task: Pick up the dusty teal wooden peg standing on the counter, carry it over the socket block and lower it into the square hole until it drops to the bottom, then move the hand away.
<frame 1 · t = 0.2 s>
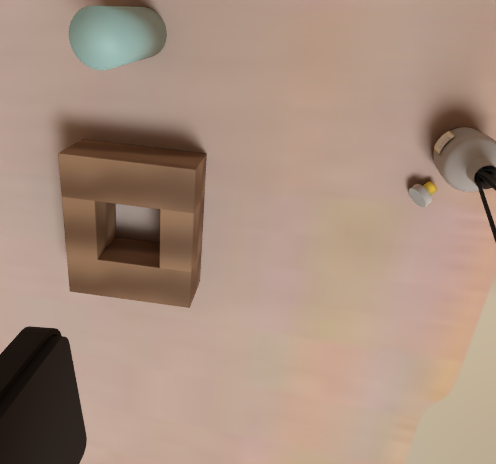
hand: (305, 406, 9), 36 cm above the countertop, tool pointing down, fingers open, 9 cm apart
reed diffuser: (460, 161, 43), on the countertop
socket block: (144, 214, 48), on the countertop
peg: (143, 32, 41), on the countertop
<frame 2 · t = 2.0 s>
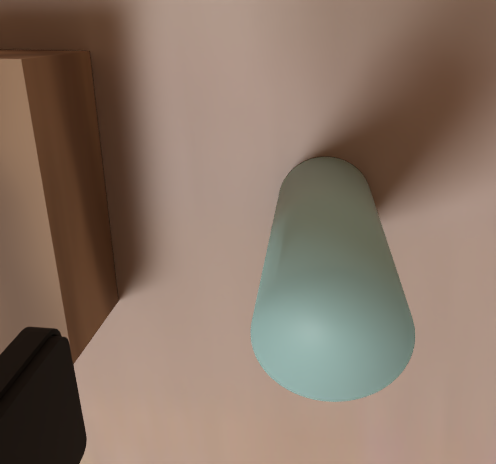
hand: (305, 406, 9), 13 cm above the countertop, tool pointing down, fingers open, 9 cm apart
peg: (324, 201, 21), on the countertop
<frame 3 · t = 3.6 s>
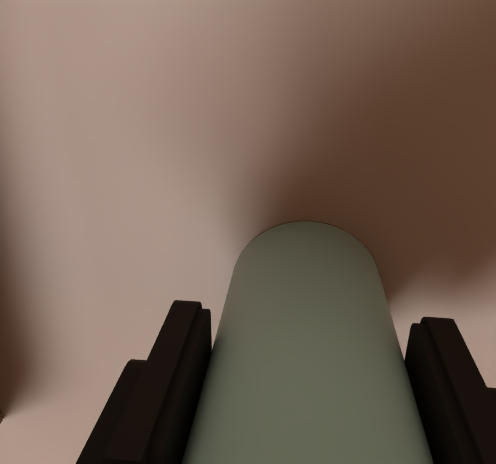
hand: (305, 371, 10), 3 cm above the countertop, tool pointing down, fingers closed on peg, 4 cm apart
peg: (304, 288, 13), on the countertop, touching gripper
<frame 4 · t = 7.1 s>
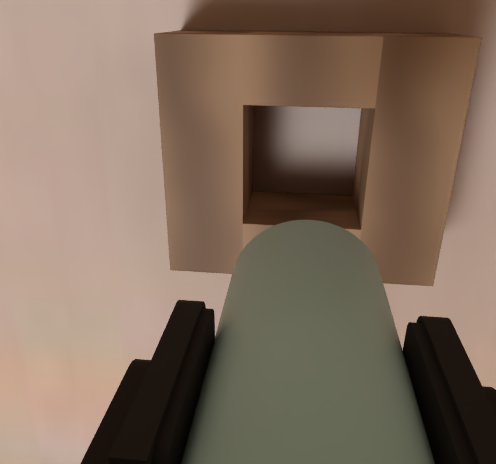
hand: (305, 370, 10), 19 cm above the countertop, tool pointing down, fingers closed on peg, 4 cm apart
socket block: (304, 144, 28), on the countertop
peg: (305, 287, 13), point 16 cm above the countertop, touching gripper
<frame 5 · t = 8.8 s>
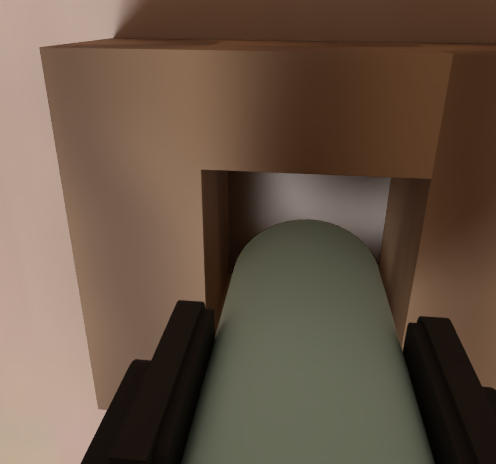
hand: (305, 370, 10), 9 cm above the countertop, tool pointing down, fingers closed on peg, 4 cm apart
socket block: (306, 209, 18), on the countertop
peg: (305, 287, 13), point 6 cm above the countertop, touching gripper
when the fingers open (6 cm above the countertop, at t = 10.1 s): peg drops 3 cm, resting in socket block.
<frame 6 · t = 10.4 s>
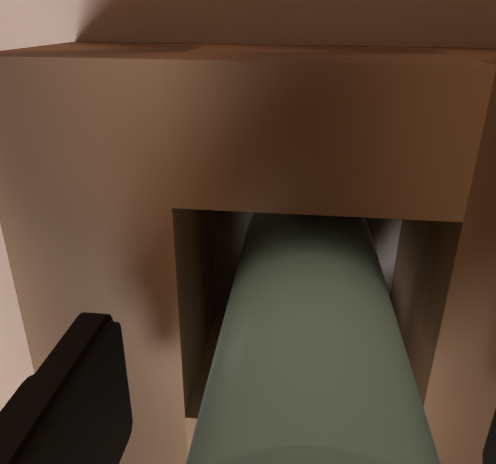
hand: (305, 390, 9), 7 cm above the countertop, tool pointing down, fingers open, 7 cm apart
socket block: (304, 241, 16), on the countertop
peg: (307, 239, 16), resting in socket block
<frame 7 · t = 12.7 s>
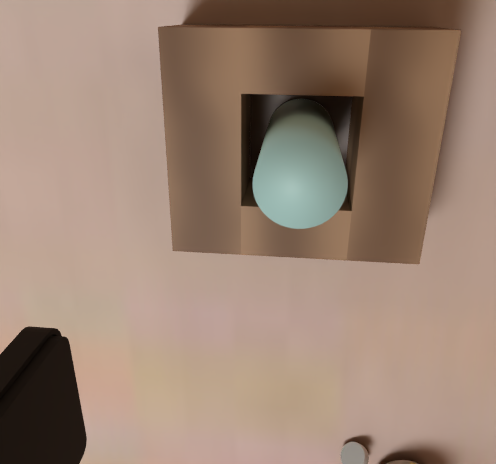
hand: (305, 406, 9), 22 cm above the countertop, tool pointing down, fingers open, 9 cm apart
socket block: (299, 132, 29), on the countertop
peg: (300, 131, 29), resting in socket block
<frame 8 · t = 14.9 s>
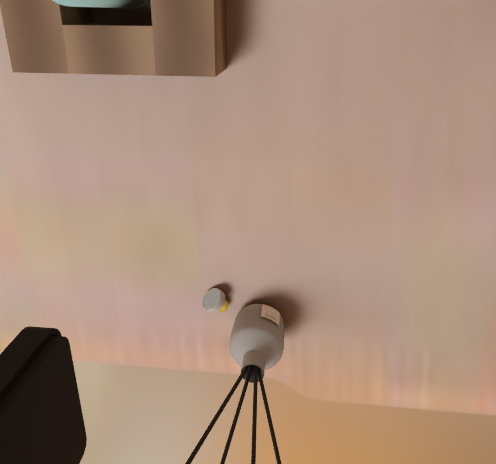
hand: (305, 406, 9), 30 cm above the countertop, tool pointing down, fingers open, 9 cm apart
reed diffuser: (250, 322, 45), on the countertop
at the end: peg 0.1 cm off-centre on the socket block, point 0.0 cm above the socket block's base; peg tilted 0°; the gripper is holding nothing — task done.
